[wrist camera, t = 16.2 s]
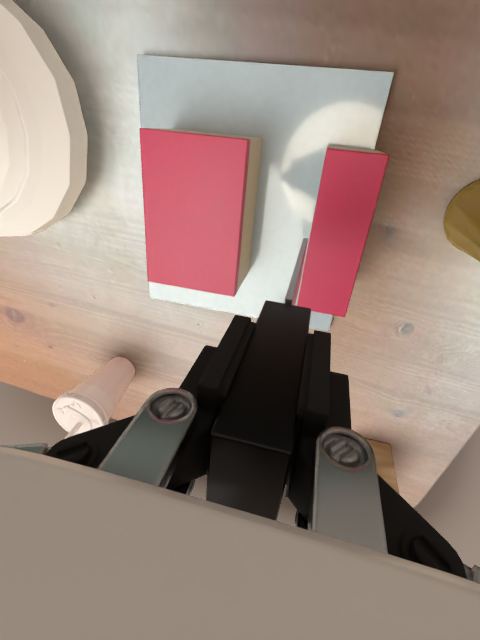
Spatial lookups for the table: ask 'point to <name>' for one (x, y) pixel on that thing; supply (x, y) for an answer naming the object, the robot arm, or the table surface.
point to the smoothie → (94, 397)
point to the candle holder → (36, 129)
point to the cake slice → (340, 227)
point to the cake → (199, 207)
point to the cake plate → (266, 150)
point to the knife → (261, 410)
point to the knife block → (384, 462)
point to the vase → (465, 220)
